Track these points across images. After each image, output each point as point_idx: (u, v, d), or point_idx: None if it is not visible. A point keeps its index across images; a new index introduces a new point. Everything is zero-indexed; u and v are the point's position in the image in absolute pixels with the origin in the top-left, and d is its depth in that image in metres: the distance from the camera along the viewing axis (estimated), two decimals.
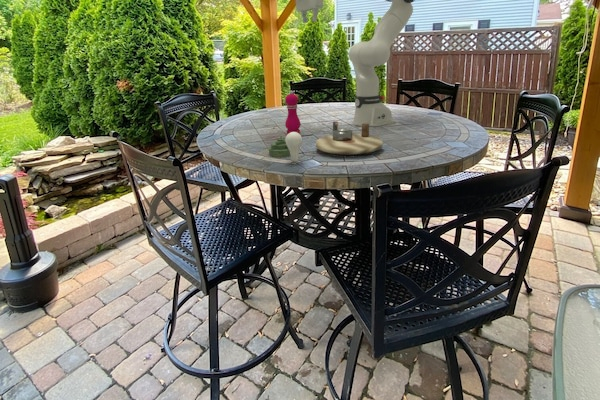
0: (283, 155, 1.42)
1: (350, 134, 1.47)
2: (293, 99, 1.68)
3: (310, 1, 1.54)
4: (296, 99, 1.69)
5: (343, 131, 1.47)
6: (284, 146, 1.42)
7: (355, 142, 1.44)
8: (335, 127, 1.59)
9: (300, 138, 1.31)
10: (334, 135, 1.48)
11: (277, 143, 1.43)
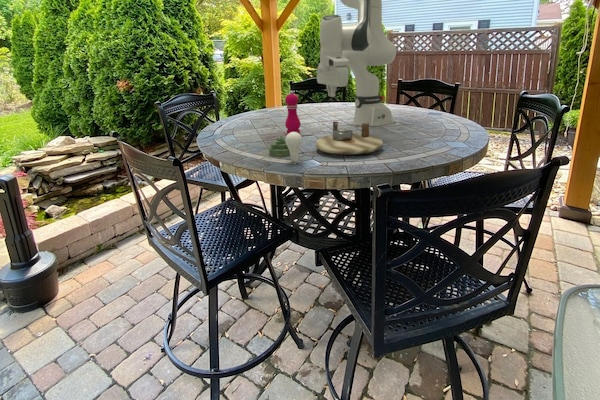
0: (283, 155, 1.42)
1: (350, 134, 1.47)
2: (293, 99, 1.68)
3: None
4: (296, 99, 1.69)
5: (343, 131, 1.47)
6: (284, 146, 1.42)
7: (355, 142, 1.44)
8: (335, 127, 1.59)
9: (301, 138, 1.31)
10: (334, 135, 1.48)
11: (277, 143, 1.43)
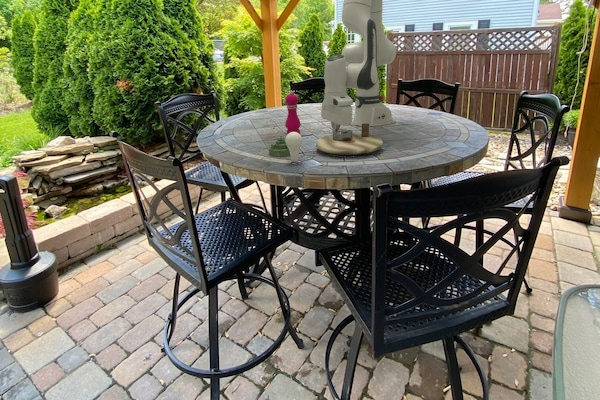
0: (283, 155, 1.42)
1: (350, 134, 1.47)
2: (293, 99, 1.68)
3: None
4: (296, 99, 1.69)
5: (343, 131, 1.47)
6: (284, 146, 1.43)
7: (355, 142, 1.44)
8: None
9: (301, 138, 1.31)
10: (334, 135, 1.48)
11: (277, 143, 1.43)
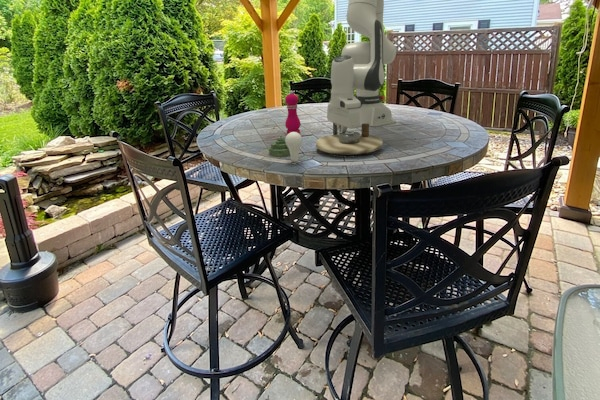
0: (283, 155, 1.42)
1: (357, 137, 1.42)
2: (293, 99, 1.68)
3: None
4: (296, 99, 1.69)
5: (350, 134, 1.43)
6: (284, 146, 1.43)
7: None
8: (335, 127, 1.59)
9: (300, 138, 1.31)
10: (341, 138, 1.43)
11: (277, 143, 1.43)
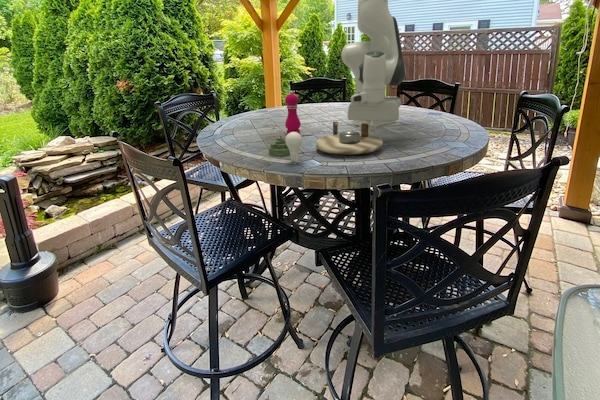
0: (283, 154, 1.42)
1: (357, 137, 1.43)
2: (293, 99, 1.68)
3: (385, 113, 1.45)
4: (296, 99, 1.69)
5: (350, 134, 1.43)
6: (284, 145, 1.43)
7: None
8: (335, 127, 1.59)
9: (300, 138, 1.31)
10: (341, 138, 1.43)
11: (277, 142, 1.43)
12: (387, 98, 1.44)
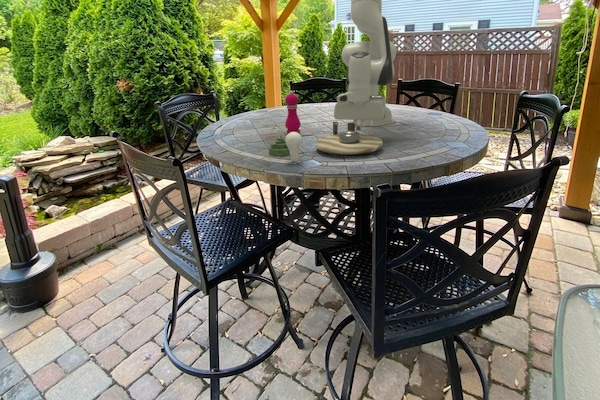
0: (283, 154, 1.43)
1: (359, 135, 1.44)
2: (293, 99, 1.68)
3: (370, 113, 1.48)
4: (296, 99, 1.69)
5: (353, 133, 1.43)
6: (284, 145, 1.43)
7: None
8: (335, 127, 1.59)
9: (300, 138, 1.31)
10: (346, 138, 1.42)
11: (277, 142, 1.44)
12: (372, 98, 1.47)
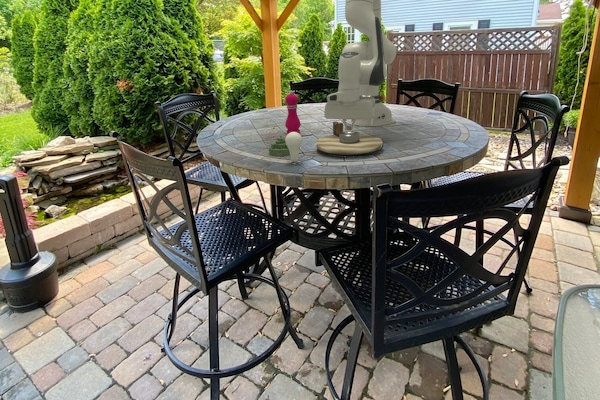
0: (283, 154, 1.43)
1: None
2: (293, 99, 1.68)
3: (360, 112, 1.49)
4: (296, 99, 1.69)
5: (354, 133, 1.44)
6: (284, 145, 1.43)
7: None
8: (335, 127, 1.59)
9: (300, 138, 1.31)
10: (351, 138, 1.42)
11: (277, 142, 1.44)
12: (362, 97, 1.48)
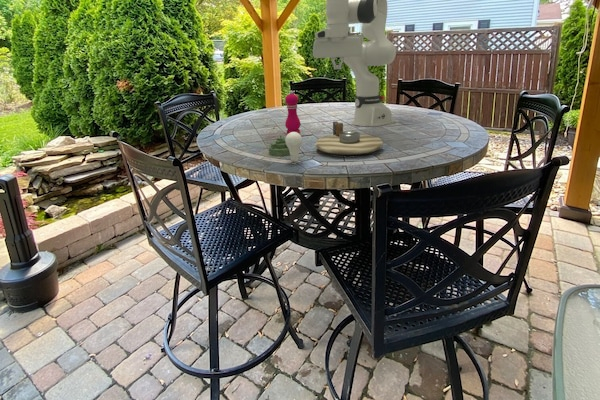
0: (283, 154, 1.43)
1: None
2: (293, 99, 1.68)
3: (348, 49, 1.47)
4: (296, 99, 1.69)
5: (354, 133, 1.44)
6: (284, 145, 1.43)
7: None
8: (335, 127, 1.59)
9: (300, 138, 1.31)
10: (351, 138, 1.42)
11: (277, 142, 1.44)
12: (350, 34, 1.46)
